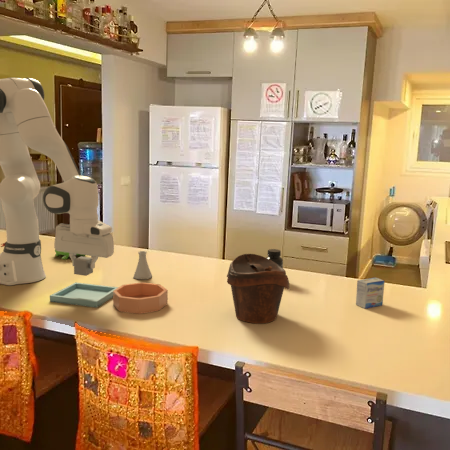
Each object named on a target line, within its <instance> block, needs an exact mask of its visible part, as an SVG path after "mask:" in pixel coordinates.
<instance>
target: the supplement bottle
mask: <svg viewBox="0 0 450 450" xmlns="http://www.w3.org/2000/svg"><path fill="white" fill-rule="evenodd" d="M281 252H282V251H281V250H280V249H277V248H271V249H270V248H269V249H267V256H266V257H265V258H267V259H269V260H271V261H273V262H275V263H277V264H278V265H279V266H280V267H282V268H283V269H284V260H283V258H282V257H281V255H282V253H281Z"/></svg>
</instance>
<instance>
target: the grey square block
mask: <svg viewBox="0 0 450 450" xmlns="http://www.w3.org/2000/svg"><path fill="white" fill-rule="evenodd" d="M92 260H93V259H91V256H90V257H88V256H82V255H80V256H79V257H76V259H74V266H73V274H74V275H76V276H77V275H78V276H83V277H84V276H89V275H90V274H93V272H94V268H93V269H90V268H88V263H90V262H92Z"/></svg>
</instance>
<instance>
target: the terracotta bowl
mask: <svg viewBox="0 0 450 450" xmlns="http://www.w3.org/2000/svg"><path fill="white" fill-rule="evenodd" d="M117 287H118V288H117V289H115V290H114V291H113V298H112V304H113V306H114V307H115V309H117V310H118V311H119V312H121V313H123V312H124V313H129V314H130V313H131V314H135V315H139V314H140V315H141V314H146V313H153V312H159V311H161V310H162V309H163V308H164V307H165V306H166V305H168V304H169V303H168V293H169V292H168V289H167V288H165V287H164V286H163V285H161V284H159V283H154V282H153V283H150V282H135V283H128V284H127V283H125V284H122V285H120V286H117Z"/></svg>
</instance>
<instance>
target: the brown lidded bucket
mask: <svg viewBox="0 0 450 450" xmlns="http://www.w3.org/2000/svg"><path fill="white" fill-rule="evenodd" d="M226 278H227V280H226V282H227V284H228V285H229V286H230V289H231V294H232V300H233V306H234V311H235V318H236V319H238V320H240V321H242V322H246V323H251V324H256V325H257V324H258V325H261V324H268V323H272V322H273V321H275V320H276V319H277V317H278V313H279V310H280V307H281V302H282V297H283V293H284V290H285V289H287V290H288V291H289V292H290V280H289V277H288V275H287V272H286V270H285V269H284V267H283V268H282V267H280V266H279V265H278V264H277V263H275V262H273V261H271V260H269V259H267V258H266V257H264V256H262V255H259V254H255V253H243V254H240V255H238V256H237V257H235V258H234V259H232V261H231V262H230V264H229V267H228V271H227V274H226Z"/></svg>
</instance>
